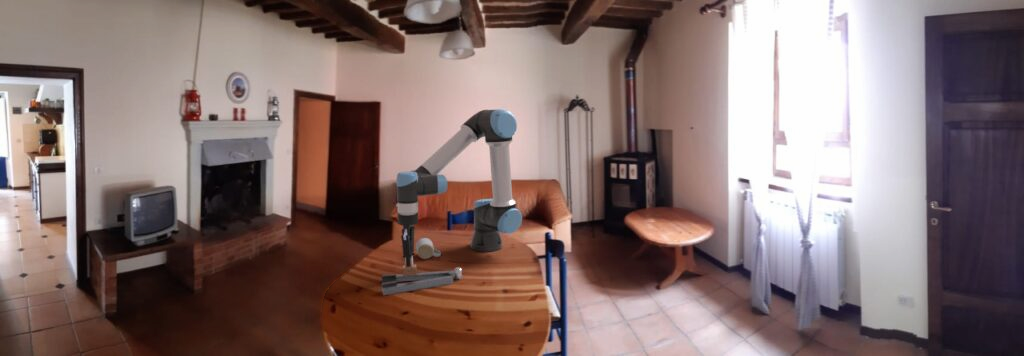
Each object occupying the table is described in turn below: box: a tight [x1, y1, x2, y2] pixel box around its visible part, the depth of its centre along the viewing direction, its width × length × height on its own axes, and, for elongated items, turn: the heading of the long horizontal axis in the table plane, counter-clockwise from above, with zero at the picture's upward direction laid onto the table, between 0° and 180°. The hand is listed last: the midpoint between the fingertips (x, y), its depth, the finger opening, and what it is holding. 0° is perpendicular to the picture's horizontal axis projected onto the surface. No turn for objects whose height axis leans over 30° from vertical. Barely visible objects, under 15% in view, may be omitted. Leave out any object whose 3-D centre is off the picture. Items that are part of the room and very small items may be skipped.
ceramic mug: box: [415, 237, 442, 260], centre depth 178 cm, size 11×8×8 cm
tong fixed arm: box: [381, 275, 454, 296], centre depth 146 cm, size 25×4×3 cm, turn 115°
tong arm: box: [381, 264, 463, 284], centre depth 153 cm, size 29×6×5 cm, turn 103°
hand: (409, 272), depth 155 cm, fingers closed
